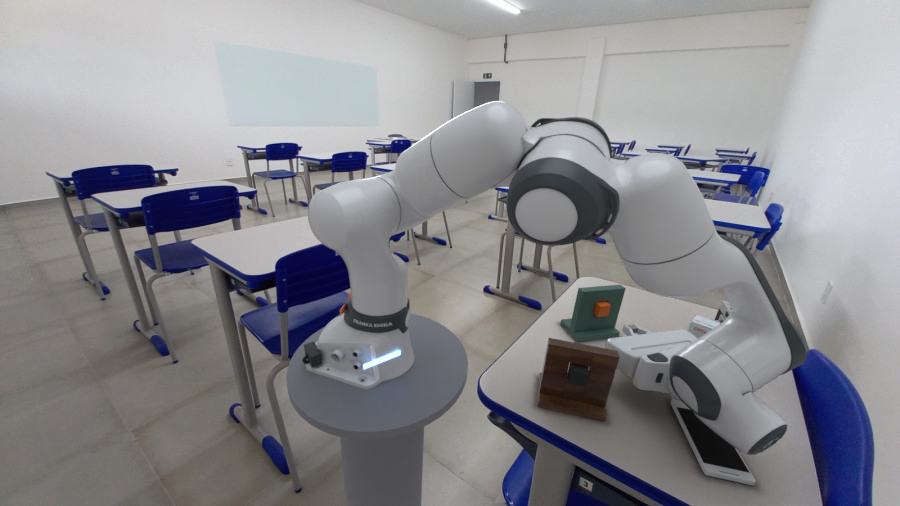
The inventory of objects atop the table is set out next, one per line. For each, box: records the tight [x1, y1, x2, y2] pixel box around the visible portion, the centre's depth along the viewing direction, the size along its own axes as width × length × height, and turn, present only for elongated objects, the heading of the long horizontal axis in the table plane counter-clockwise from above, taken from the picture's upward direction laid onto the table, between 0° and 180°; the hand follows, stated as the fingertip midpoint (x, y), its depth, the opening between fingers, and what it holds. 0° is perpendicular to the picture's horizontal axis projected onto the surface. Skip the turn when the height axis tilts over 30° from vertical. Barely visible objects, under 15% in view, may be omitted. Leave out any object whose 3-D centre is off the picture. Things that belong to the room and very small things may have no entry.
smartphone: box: [670, 398, 757, 486], centre depth 62 cm, size 7×16×1 cm, turn 168°
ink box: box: [687, 314, 721, 338], centre depth 77 cm, size 9×5×12 cm, turn 46°
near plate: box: [537, 337, 620, 423], centre depth 67 cm, size 8×12×13 cm, turn 76°
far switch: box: [593, 301, 611, 317], centre depth 87 cm, size 3×3×3 cm
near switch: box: [568, 363, 589, 387], centre depth 64 cm, size 3×3×3 cm
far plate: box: [560, 284, 627, 343], centre depth 89 cm, size 8×12×13 cm, turn 105°
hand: (628, 327), depth 78 cm, fingers closed
